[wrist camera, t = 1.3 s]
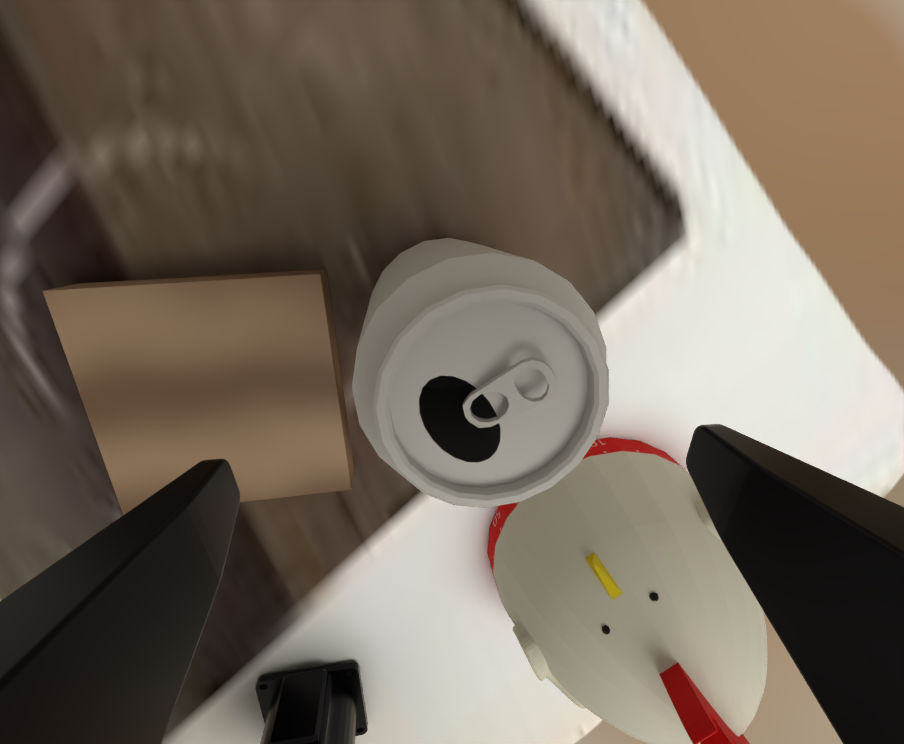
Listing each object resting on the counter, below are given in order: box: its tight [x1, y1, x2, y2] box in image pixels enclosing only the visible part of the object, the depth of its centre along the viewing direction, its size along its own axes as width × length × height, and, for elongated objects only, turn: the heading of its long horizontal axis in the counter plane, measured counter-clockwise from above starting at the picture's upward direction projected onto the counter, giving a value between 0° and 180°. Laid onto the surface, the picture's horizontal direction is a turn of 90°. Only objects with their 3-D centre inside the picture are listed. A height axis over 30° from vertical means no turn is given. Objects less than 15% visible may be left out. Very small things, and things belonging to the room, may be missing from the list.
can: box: [352, 238, 609, 508], centre depth 17 cm, size 8×8×12 cm
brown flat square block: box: [43, 269, 354, 515], centre depth 21 cm, size 11×11×2 cm
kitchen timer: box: [488, 438, 767, 744], centre depth 21 cm, size 14×14×15 cm
